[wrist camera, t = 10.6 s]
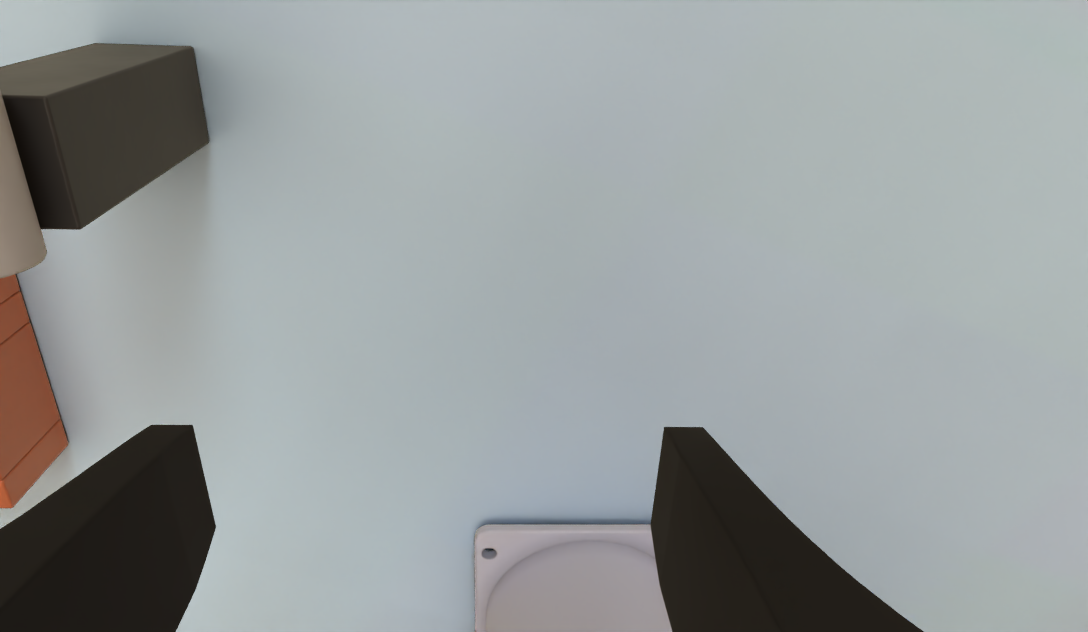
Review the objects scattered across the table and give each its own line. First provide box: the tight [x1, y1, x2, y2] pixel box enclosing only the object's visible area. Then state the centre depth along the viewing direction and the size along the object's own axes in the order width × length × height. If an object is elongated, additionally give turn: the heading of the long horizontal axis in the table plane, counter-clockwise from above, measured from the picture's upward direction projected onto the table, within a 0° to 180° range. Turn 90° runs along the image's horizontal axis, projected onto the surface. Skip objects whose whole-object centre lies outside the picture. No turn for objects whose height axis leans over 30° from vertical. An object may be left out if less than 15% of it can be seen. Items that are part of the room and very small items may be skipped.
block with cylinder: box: [0, 43, 209, 278], centre depth 15 cm, size 3×2×8 cm
